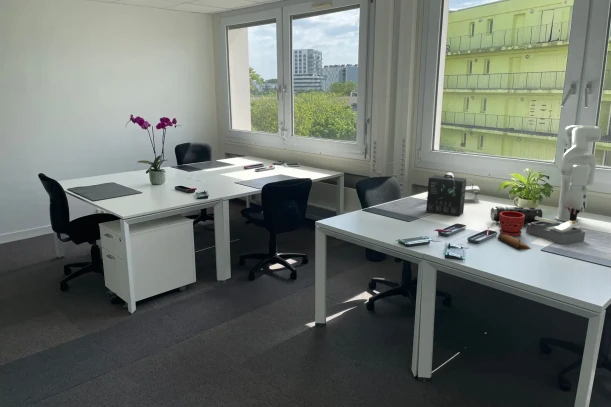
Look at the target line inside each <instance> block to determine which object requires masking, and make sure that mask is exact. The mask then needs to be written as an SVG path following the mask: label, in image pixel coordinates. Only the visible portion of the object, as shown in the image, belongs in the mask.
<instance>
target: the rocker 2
mask: <svg viewBox="0 0 611 407" xmlns="http://www.w3.org/2000/svg"><path fill="white" fill-rule="evenodd" d="M577 226H579V222H578V221H570V220H569V221H567V222H565V221H564V222H563V223H561V224H560V225H559V226H557V227H555V228H554V230H557V231H560V232H565V231H567V230H569V229H571V228H573V227H575V228H576V227H577Z"/></svg>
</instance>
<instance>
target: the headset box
mask: <svg viewBox="0 0 611 407" xmlns="http://www.w3.org/2000/svg"><path fill="white" fill-rule="evenodd" d="M466 179H467V178H466V177H465V178H464V177H456V176H454V177H452V175H446V174H444V175H437V174H434V175H432V176H430V177H428V182H427V198H426V209H425V212H426V211H428V212H427V213H432V212H433V214H440V215H445V216H452V217H457V218H459V217H460V216H462V215H463V213H464V208H465V202H464V201H466V200H465V199H466V191H467V190H466V186H467V180H466Z"/></svg>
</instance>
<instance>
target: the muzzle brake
mask: <svg viewBox="0 0 611 407" xmlns="http://www.w3.org/2000/svg"><path fill="white" fill-rule="evenodd" d="M504 211H514V212H519V213H522V214H524V215H525V220H524V224H530V223H532V222H539V220H536V219H535V216H536V217H540V218H543V210H542V208H541V207H512V206H510V207H508V206H506V207H504V206H495V207H491V209H490V219H491V221H493V222H495V223H499V216H500V213H501V212H504ZM507 217H509V216H507ZM514 217H515V216H514Z"/></svg>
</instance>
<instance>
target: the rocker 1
mask: <svg viewBox="0 0 611 407" xmlns="http://www.w3.org/2000/svg"><path fill="white" fill-rule="evenodd" d="M535 219H536V220H539V221H543V222H547V223H552V224H556V223H557V222H558V221H557V220H553V219H550V218H545V217H544V218H543V217H542V218H540V217H538V216H537V217H536V216H535Z"/></svg>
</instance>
